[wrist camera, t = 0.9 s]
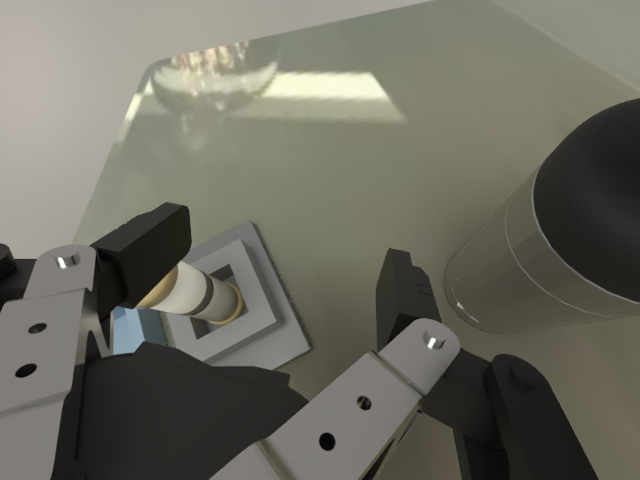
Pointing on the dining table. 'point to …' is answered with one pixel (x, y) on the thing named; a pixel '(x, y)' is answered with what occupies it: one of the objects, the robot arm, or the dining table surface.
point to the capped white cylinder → (195, 296)
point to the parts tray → (136, 329)
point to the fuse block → (260, 312)
